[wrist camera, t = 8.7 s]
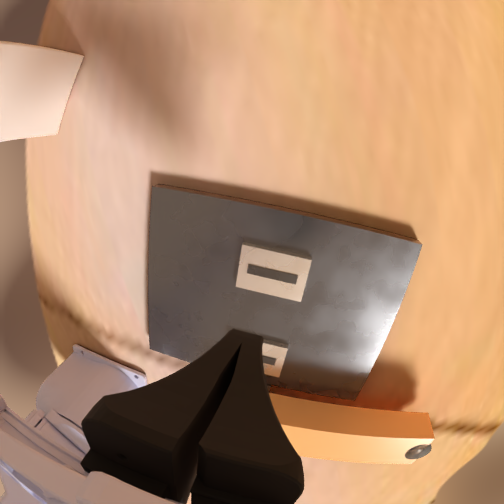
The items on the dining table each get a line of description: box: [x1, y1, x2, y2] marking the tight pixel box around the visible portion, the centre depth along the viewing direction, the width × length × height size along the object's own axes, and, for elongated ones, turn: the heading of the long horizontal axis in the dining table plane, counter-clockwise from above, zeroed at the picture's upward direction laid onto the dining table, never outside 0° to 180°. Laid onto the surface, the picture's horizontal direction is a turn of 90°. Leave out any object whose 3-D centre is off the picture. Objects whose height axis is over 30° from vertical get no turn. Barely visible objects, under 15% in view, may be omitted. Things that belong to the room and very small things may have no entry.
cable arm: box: [269, 393, 435, 464], centre depth 21 cm, size 18×4×3 cm, turn 83°
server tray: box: [148, 184, 422, 401], centre depth 22 cm, size 18×18×2 cm
